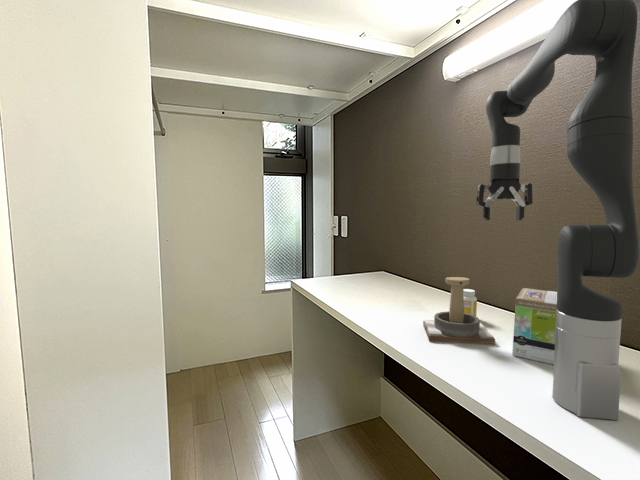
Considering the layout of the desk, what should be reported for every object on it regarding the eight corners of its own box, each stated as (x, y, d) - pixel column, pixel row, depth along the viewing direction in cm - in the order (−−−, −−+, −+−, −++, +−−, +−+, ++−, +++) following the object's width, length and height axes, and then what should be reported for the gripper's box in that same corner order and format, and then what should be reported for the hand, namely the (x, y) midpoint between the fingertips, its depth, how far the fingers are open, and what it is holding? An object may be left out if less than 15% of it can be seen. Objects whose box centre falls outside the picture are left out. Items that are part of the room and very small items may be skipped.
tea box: (561, 367, 77) (564, 304, 76) (511, 356, 83) (513, 297, 82) (562, 345, 89) (565, 291, 88) (519, 337, 95) (521, 286, 94)
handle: (471, 332, 96) (472, 280, 95) (448, 332, 96) (449, 280, 94) (463, 326, 101) (464, 276, 99) (442, 326, 100) (443, 277, 99)
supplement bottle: (464, 321, 110) (464, 292, 109) (455, 316, 115) (456, 288, 114) (479, 320, 110) (480, 291, 110) (470, 315, 116) (471, 288, 115)
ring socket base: (494, 344, 90) (495, 326, 90) (429, 341, 93) (429, 323, 93) (480, 328, 103) (481, 312, 103) (423, 325, 106) (423, 310, 106)
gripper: (482, 162, 93) (480, 221, 95) (538, 160, 91) (535, 220, 92) (474, 166, 101) (473, 220, 102) (526, 164, 98) (524, 219, 100)
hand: (503, 220), depth 97 cm, fingers open, 8 cm apart
